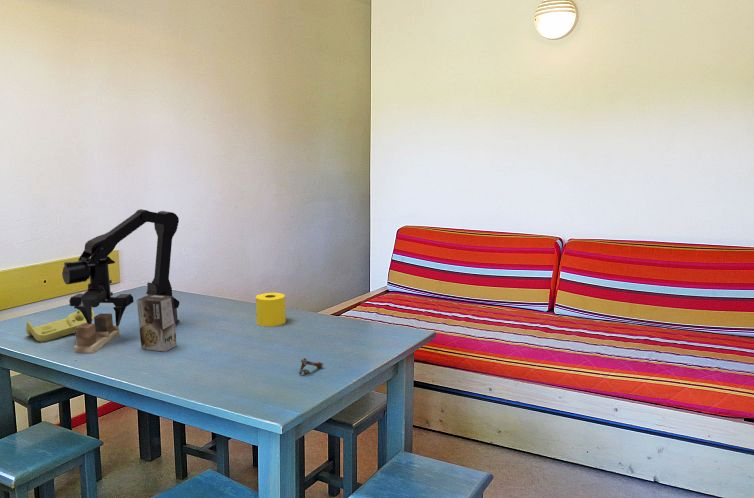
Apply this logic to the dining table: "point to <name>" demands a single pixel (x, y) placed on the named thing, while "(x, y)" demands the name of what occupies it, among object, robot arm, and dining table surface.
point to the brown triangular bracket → (305, 362)
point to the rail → (97, 345)
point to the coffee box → (157, 322)
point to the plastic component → (57, 327)
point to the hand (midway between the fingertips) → (103, 325)
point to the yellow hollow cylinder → (270, 309)
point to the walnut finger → (103, 323)
